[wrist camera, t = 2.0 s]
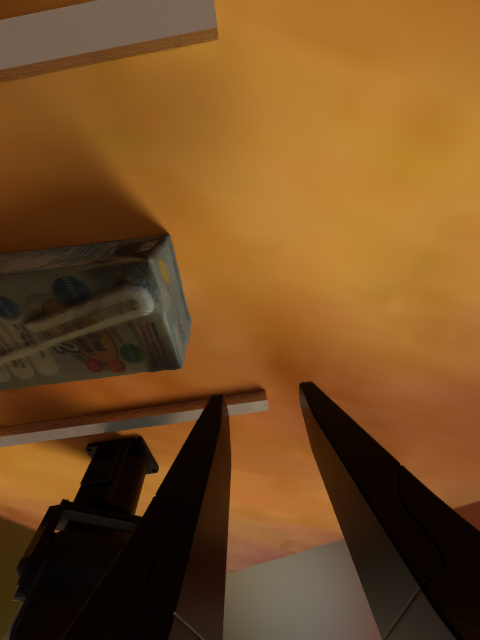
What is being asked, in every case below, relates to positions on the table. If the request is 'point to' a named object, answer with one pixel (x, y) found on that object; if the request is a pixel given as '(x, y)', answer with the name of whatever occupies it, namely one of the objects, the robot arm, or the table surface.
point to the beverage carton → (91, 312)
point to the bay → (87, 48)
